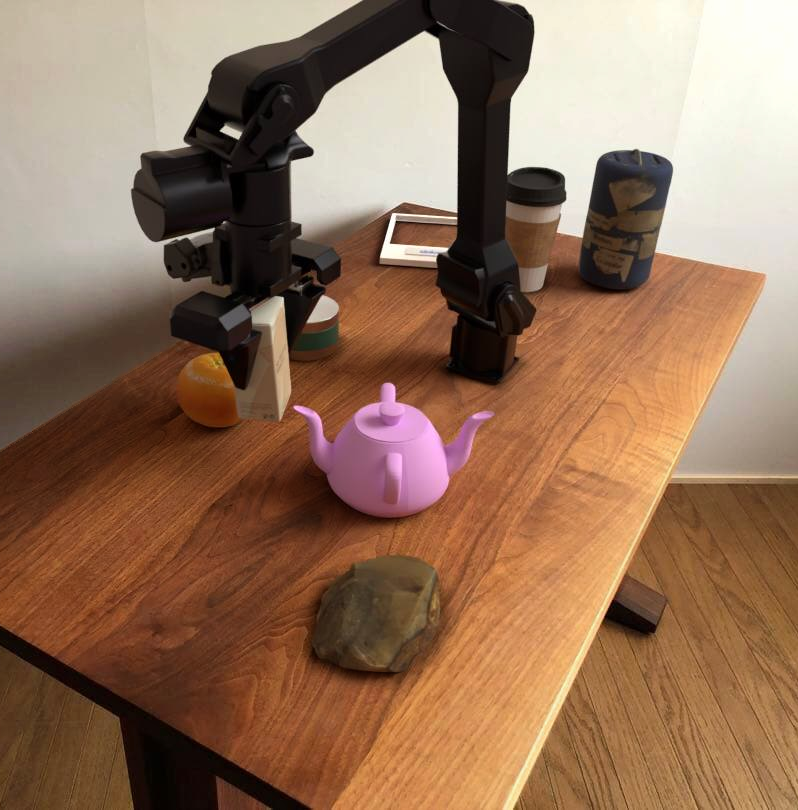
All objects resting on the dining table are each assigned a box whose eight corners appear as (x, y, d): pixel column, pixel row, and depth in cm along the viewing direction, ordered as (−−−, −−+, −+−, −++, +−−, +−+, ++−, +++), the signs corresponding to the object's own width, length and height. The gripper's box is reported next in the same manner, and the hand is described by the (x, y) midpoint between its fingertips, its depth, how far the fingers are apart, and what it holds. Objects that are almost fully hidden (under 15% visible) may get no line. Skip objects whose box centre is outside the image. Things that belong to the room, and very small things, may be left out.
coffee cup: (561, 279, 126) (578, 172, 118) (539, 302, 120) (556, 191, 112) (503, 266, 130) (516, 161, 122) (479, 287, 124) (492, 179, 116)
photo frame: (379, 256, 129) (392, 212, 144) (379, 263, 130) (392, 218, 145) (484, 264, 127) (486, 218, 142) (483, 271, 128) (485, 225, 143)
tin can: (350, 340, 111) (352, 303, 108) (314, 368, 105) (315, 329, 102) (295, 323, 115) (295, 287, 112) (257, 349, 109) (256, 311, 106)
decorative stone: (420, 693, 66) (424, 659, 64) (297, 661, 68) (297, 628, 67) (446, 595, 74) (450, 562, 73) (336, 570, 77) (337, 538, 75)
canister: (571, 287, 123) (594, 156, 114) (580, 261, 131) (602, 136, 121) (645, 299, 120) (675, 165, 111) (650, 272, 128) (679, 144, 118)
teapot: (292, 483, 87) (292, 404, 82) (398, 432, 94) (403, 357, 89) (378, 548, 79) (383, 465, 74) (485, 487, 86) (496, 408, 81)
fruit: (287, 385, 95) (241, 329, 92) (242, 445, 91) (192, 389, 88) (241, 389, 102) (196, 337, 98) (197, 446, 98) (148, 393, 94)
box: (280, 424, 86) (270, 327, 79) (236, 419, 87) (222, 323, 80) (292, 389, 90) (284, 294, 83) (250, 385, 91) (239, 291, 84)
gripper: (246, 169, 88) (251, 314, 96) (111, 229, 75) (131, 391, 83) (345, 190, 83) (341, 342, 91) (219, 259, 70) (228, 429, 78)
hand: (262, 372), depth 86 cm, fingers closed on box, 6 cm apart
